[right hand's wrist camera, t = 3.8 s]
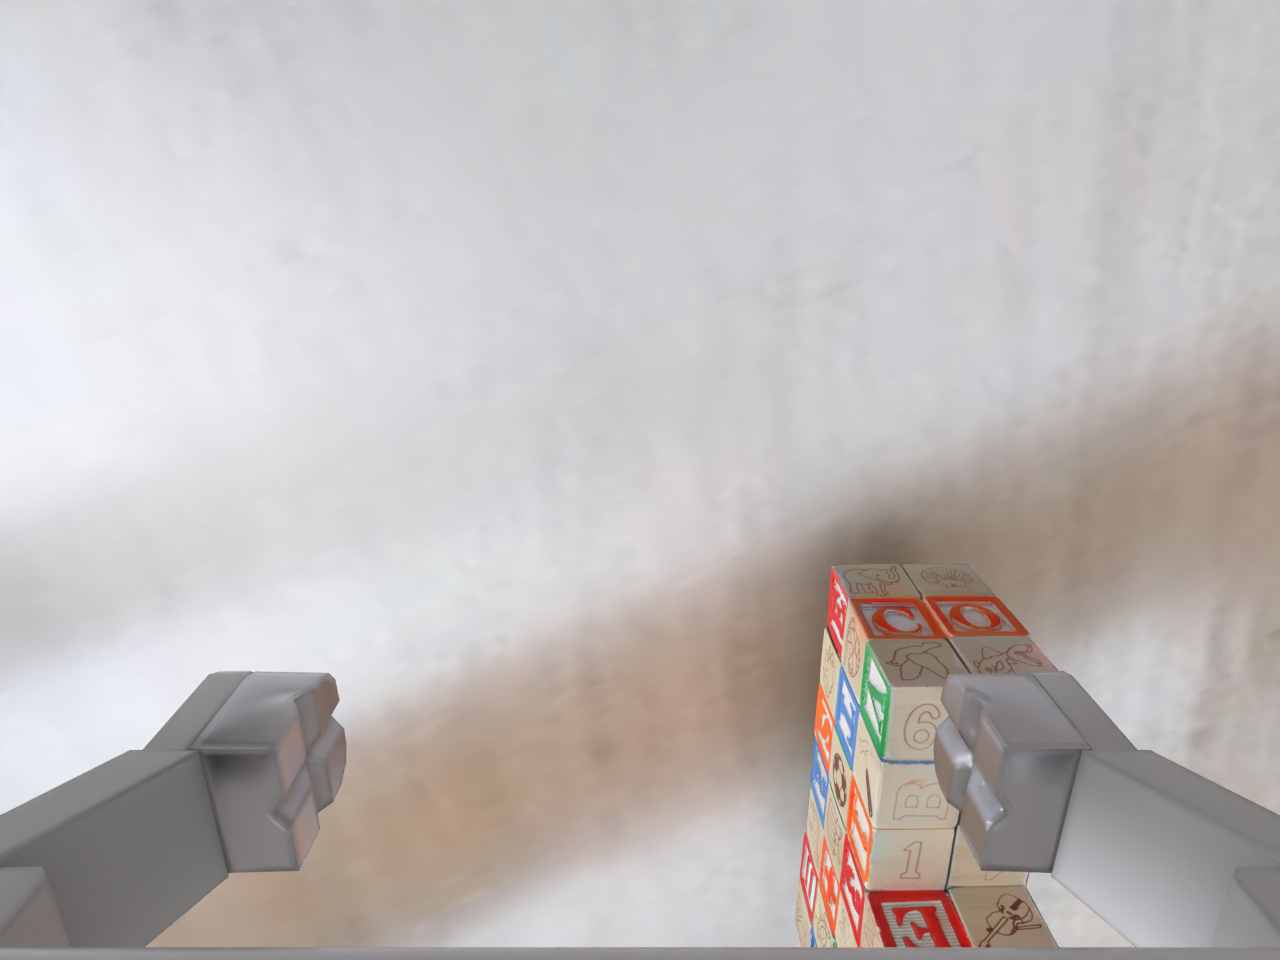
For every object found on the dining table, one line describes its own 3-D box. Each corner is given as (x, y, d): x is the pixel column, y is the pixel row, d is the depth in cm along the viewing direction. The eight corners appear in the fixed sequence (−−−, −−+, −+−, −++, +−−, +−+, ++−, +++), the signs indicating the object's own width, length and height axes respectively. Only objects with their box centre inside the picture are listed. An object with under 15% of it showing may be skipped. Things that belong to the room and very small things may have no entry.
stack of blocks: (826, 560, 35) (923, 744, 24) (967, 559, 35) (1133, 742, 24) (794, 920, 43) (855, 1194, 31) (910, 919, 43) (1015, 1192, 31)
